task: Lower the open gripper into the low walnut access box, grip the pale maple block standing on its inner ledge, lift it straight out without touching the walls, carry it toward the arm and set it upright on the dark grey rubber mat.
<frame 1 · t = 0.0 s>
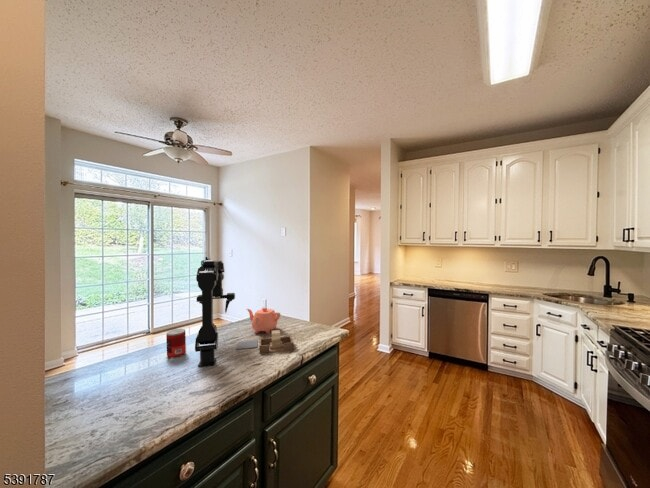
hand: (216, 313, 145), 15 cm above the worktop, fingers open, 9 cm apart
access box: (276, 347, 134), on the worktop
maple block: (276, 343, 134), point 2 cm above the worktop, touching access box
canned food: (176, 355, 128), on the worktop
rubber mat: (247, 345, 138), on the worktop
teapot: (262, 331, 161), on the worktop
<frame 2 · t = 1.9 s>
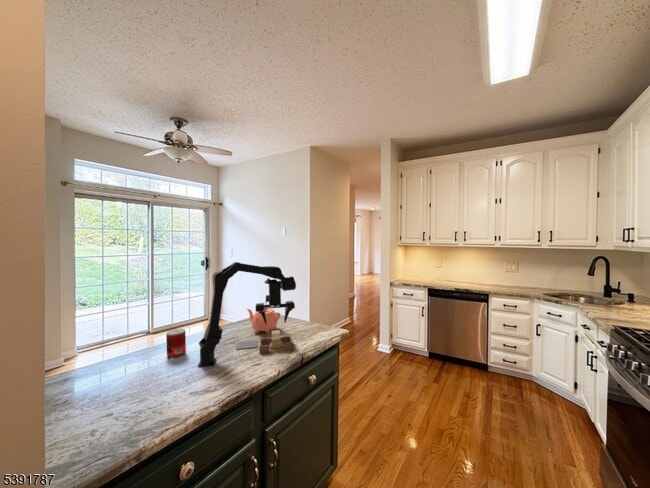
hand: (275, 323, 134), 12 cm above the worktop, fingers open, 9 cm apart
nothing on the worktop moved.
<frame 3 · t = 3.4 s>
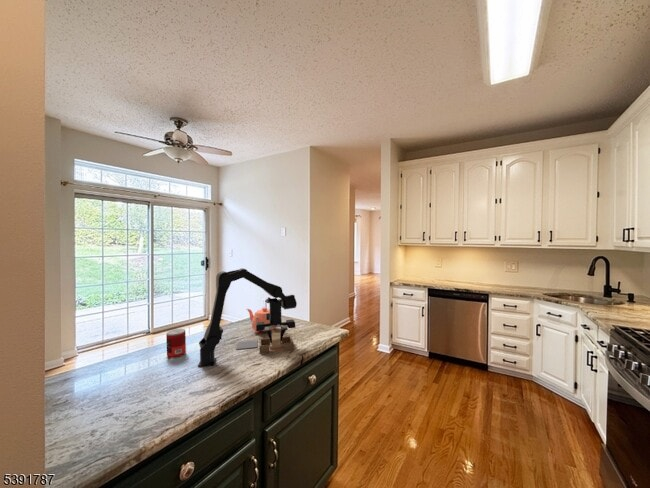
hand: (276, 342, 134), 3 cm above the worktop, fingers closed on maple block, 4 cm apart
maple block: (276, 343, 134), point 2 cm above the worktop, touching access box, gripper
everything else where it was.
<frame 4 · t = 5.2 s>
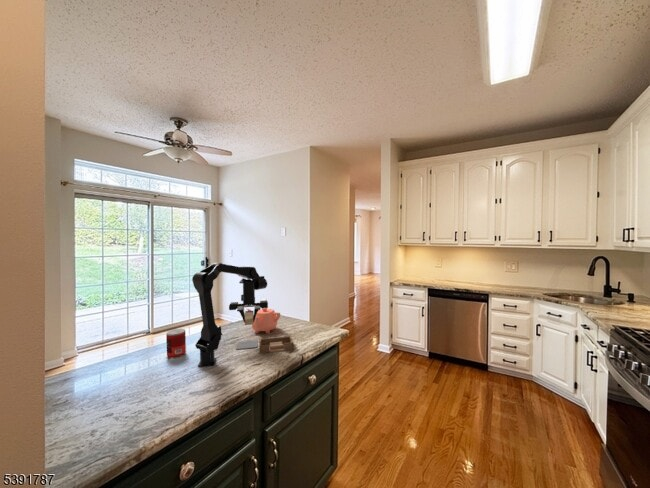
hand: (249, 322, 138), 12 cm above the worktop, fingers closed on maple block, 4 cm apart
maple block: (249, 323, 138), point 11 cm above the worktop, touching gripper
everything else where it was.
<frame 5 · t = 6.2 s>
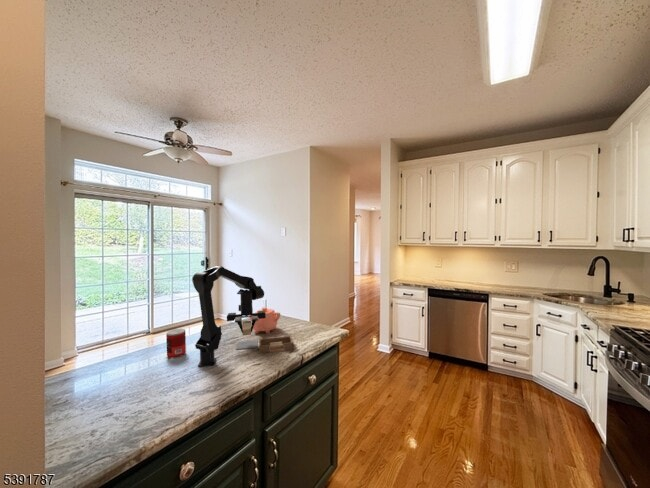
hand: (246, 332, 138), 6 cm above the worktop, fingers closed on maple block, 4 cm apart
maple block: (247, 333, 138), point 6 cm above the worktop, touching gripper
everything else where it was.
when the fingers open (3 cm above the worktop, at t = 7.1 s): maple block drops 2 cm, resting on rubber mat.
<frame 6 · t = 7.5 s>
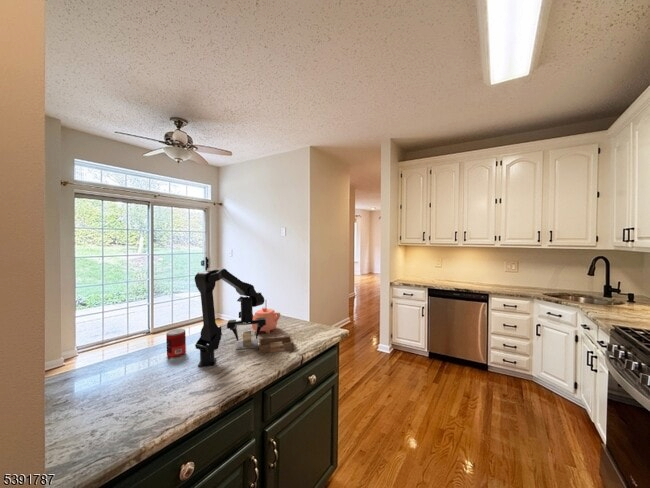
hand: (247, 339, 138), 3 cm above the worktop, fingers open, 9 cm apart
maple block: (247, 344, 138), resting on rubber mat
everything else where it was.
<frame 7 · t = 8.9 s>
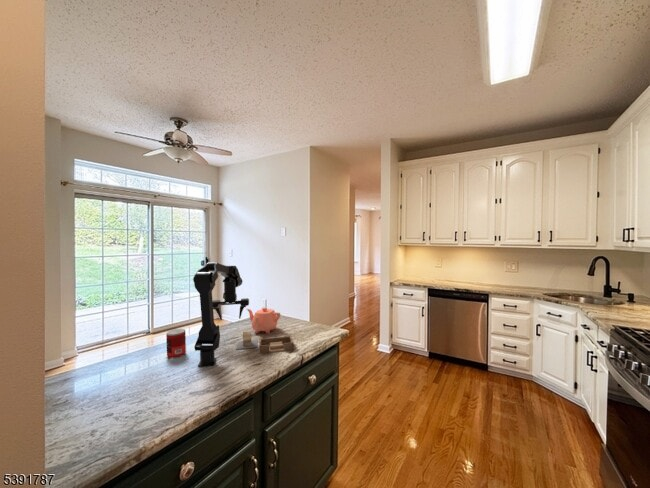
hand: (230, 319, 142), 12 cm above the worktop, fingers open, 9 cm apart
nothing on the worktop moved.
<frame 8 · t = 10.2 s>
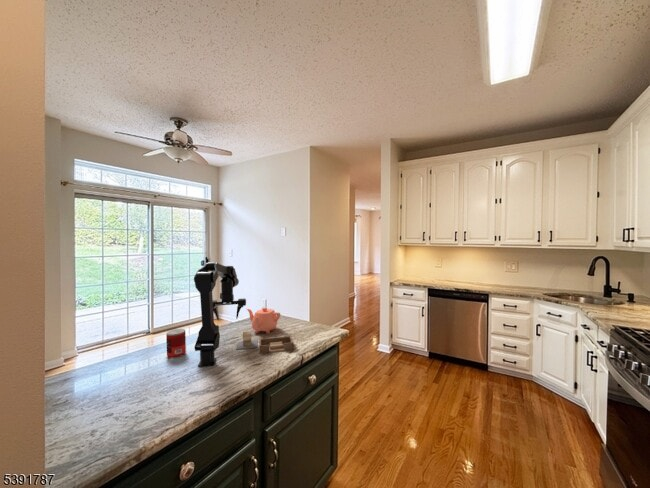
hand: (227, 319, 143), 12 cm above the worktop, fingers open, 9 cm apart
nothing on the worktop moved.
at the end: maple block inside the target area on the rubber mat (0.1 cm from its centre), point 0.4 cm above the rubber mat's base; maple block tilted 0°; maple block touching rubber mat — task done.
